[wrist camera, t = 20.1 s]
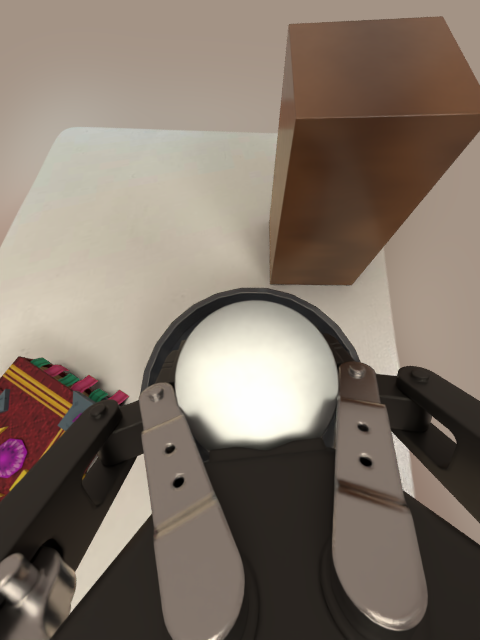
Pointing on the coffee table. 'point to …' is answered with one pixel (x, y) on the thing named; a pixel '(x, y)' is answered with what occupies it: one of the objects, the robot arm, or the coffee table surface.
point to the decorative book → (38, 413)
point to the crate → (362, 139)
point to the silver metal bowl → (202, 309)
